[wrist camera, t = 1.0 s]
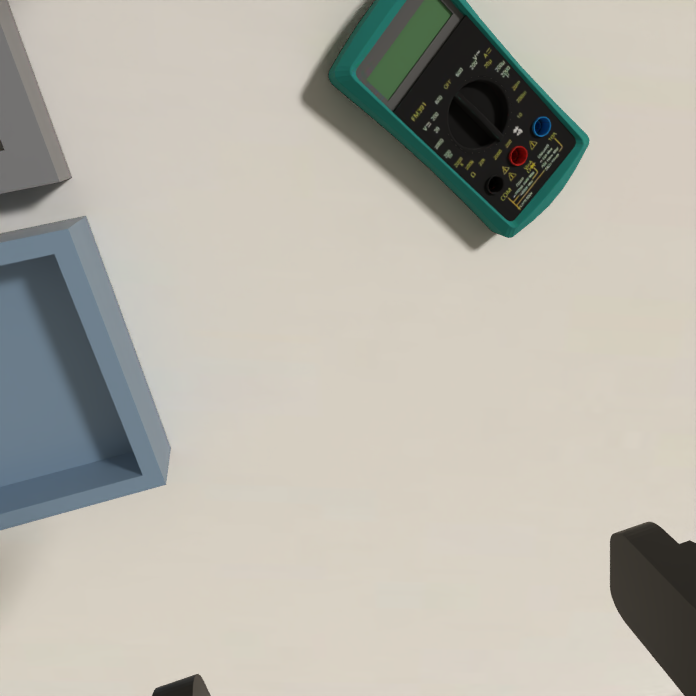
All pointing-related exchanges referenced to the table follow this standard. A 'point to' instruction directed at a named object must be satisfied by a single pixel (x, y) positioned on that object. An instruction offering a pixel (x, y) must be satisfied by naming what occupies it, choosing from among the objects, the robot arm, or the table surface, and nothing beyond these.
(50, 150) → the adapter holder
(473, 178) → the digital multimeter
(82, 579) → the table surface
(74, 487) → the parts tray
